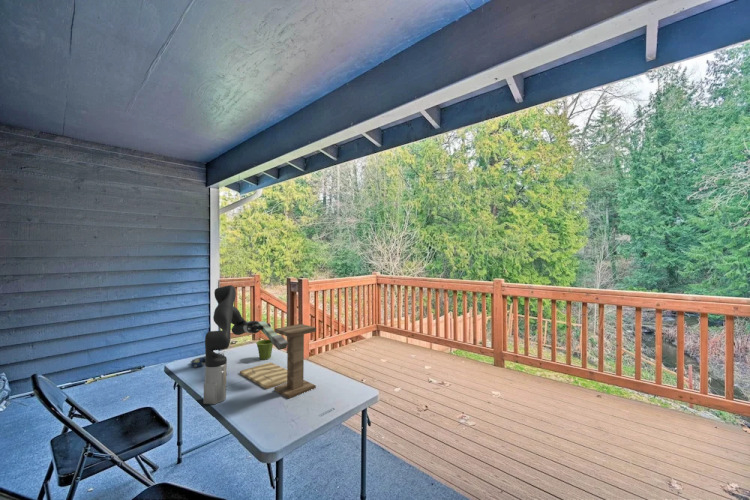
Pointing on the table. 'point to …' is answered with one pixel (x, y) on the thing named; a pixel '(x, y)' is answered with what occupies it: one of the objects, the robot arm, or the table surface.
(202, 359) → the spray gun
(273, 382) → the pine board
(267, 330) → the sanding stick
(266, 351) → the plant pot
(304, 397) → the table surface
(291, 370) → the shelf stand
